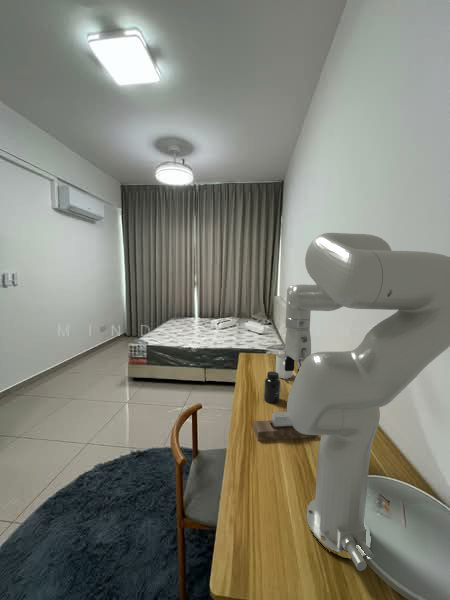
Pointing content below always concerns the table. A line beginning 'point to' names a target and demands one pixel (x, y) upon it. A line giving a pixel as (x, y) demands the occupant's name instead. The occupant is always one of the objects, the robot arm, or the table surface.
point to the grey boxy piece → (280, 420)
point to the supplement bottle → (272, 387)
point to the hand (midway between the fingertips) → (295, 375)
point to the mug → (282, 367)
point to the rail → (276, 432)
